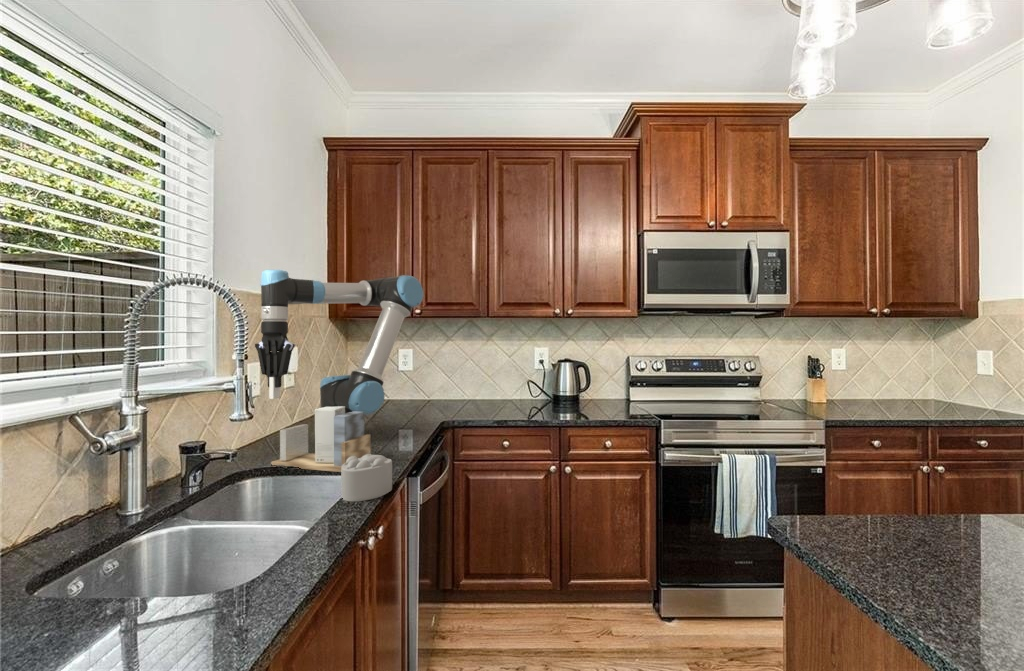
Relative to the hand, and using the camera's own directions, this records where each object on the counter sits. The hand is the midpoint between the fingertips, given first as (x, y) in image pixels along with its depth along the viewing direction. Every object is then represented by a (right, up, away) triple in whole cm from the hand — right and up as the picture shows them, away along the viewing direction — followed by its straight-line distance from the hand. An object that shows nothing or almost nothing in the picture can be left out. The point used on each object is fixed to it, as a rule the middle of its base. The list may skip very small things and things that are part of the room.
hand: (274, 398), depth 161 cm
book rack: (+16, -19, -5) cm, 25 cm away
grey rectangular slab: (+7, -18, -2) cm, 19 cm away
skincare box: (+19, -18, -5) cm, 26 cm away
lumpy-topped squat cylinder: (+37, -19, -33) cm, 53 cm away
